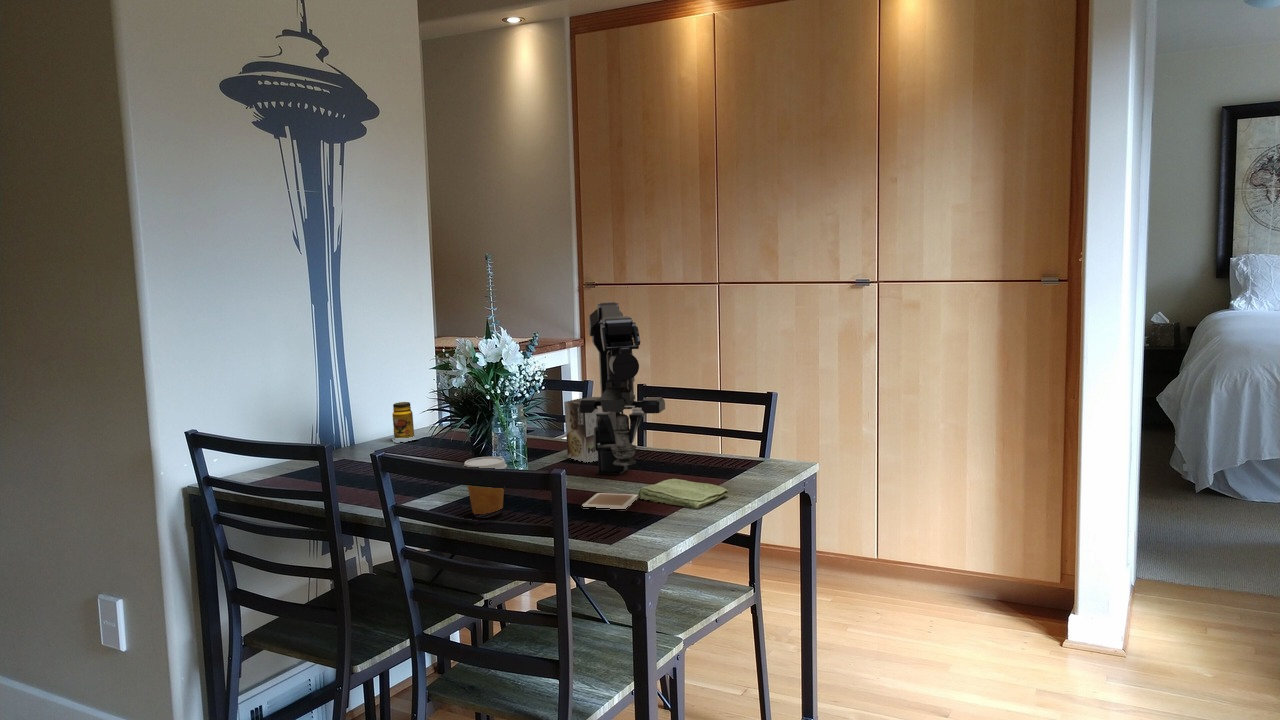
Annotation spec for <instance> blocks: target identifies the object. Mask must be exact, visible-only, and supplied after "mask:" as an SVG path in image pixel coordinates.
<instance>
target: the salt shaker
mask: <svg viewBox="0 0 1280 720" xmlns="http://www.w3.org/2000/svg"><path fill="white" fill-rule="evenodd" d="M620 413H621V414H620V415H618V416H617V417H616V428H617V430H615V432H616V435H617V441H616V444H615V445H614V446H612V447H611V449H612V453H613V455H614V456H615V457H616V458H618V459H617V460H615V461H614V462H613V464H614V465H621V466H623V465H627V466H631V465H635V464H637V461H636V460H634V459H633V457H634V456H635V454H636V449H637V448H638V446H637V445H635V444H633V443H630V418H629V415H627V414H625V413H624V410H623V411H622V412H620Z"/></svg>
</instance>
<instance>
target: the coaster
mask: <svg viewBox="0 0 1280 720" xmlns="http://www.w3.org/2000/svg"><path fill="white" fill-rule="evenodd" d="M638 499H640V498H639V496H638V494H628V493H627V494H626V493H609V492H608V493H607V492H597V493H595V494H594V495H593V496H592V497H590V498H589V499H587V500H586V502H584V503H583V504H582V505H581V507H582V506H583V507H596V508H610V509H626V508H627V507H628V506H629V507H631V505H633V504H632V503H633V502H634V501H635V500H636V501H637V500H638ZM636 501H635V502H636ZM635 502H634V503H635ZM629 507H628V508H629ZM628 508H627V509H628ZM610 509H609V510H610ZM627 509H626V510H627Z"/></svg>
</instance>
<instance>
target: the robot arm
mask: <svg viewBox="0 0 1280 720" xmlns="http://www.w3.org/2000/svg"><path fill="white" fill-rule="evenodd" d="M588 334H589V335H588V336H589V337H591V342H592V344H593V345H594V347H595V349H596V351H597V352H598V363H599V365H598V366H599V378H600V379H599V384H600V385H599V386H600V396H587V397H585V398H583V400H581V401H580V402H579V413H592V412H593V411H594V410H595V409H597V414H596V416H597V419H596V427H594V437H593V442H594V449H595V451H598V461H597V464H598V465H597V466H598V470H597V471H596V473H595V474H597V475H615V476H620V475H622V474H623V473H625V472H626V471H627V470H628V465H623V466H621V465H614V464H613V462H614V461H615V460H617V459H618V458H616V457H615V456H614V455H613V453H612V449H611V447H612V446H614V445H615V444H616V441H617V435H616V432H615V430H617V428H616V417H617V416H618V415H620V414H621V412H622V411H623V412H624V410H631V412H632V413H630V414H628V417H629V429H630V443H631V444H633V443H634V440H635V439H636V434H637V431H638V428H639V425H640V423H641V421H642V419H643V417H644V416H645V415H647V414H661V413H662V412H663V411H664V410H666V401H665V399H664V398H663V397H662V396H657V397H656V396H647V397H645V398H644V399H642V400H636V394H635V387H634V383H635V377H636V376H637V374H638V372H639V369H640V364H639V360H638V359H637V357H636V356H635V355H633V350H639V349H640V346H641V337H640V332H639V328H638V326H637V323H636V322H634V321H633V318H632V317H630V316H627V315H624V313H623V312H622V311H621V310H620V306H619V303H618V302H617V303H616V302H615V301H613V302H600V303H599V304H598V303H597V306H596V309H595V310H594V311H593V312H592V313H590V314H589V318H588ZM598 443H600V444H599V445H598Z"/></svg>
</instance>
